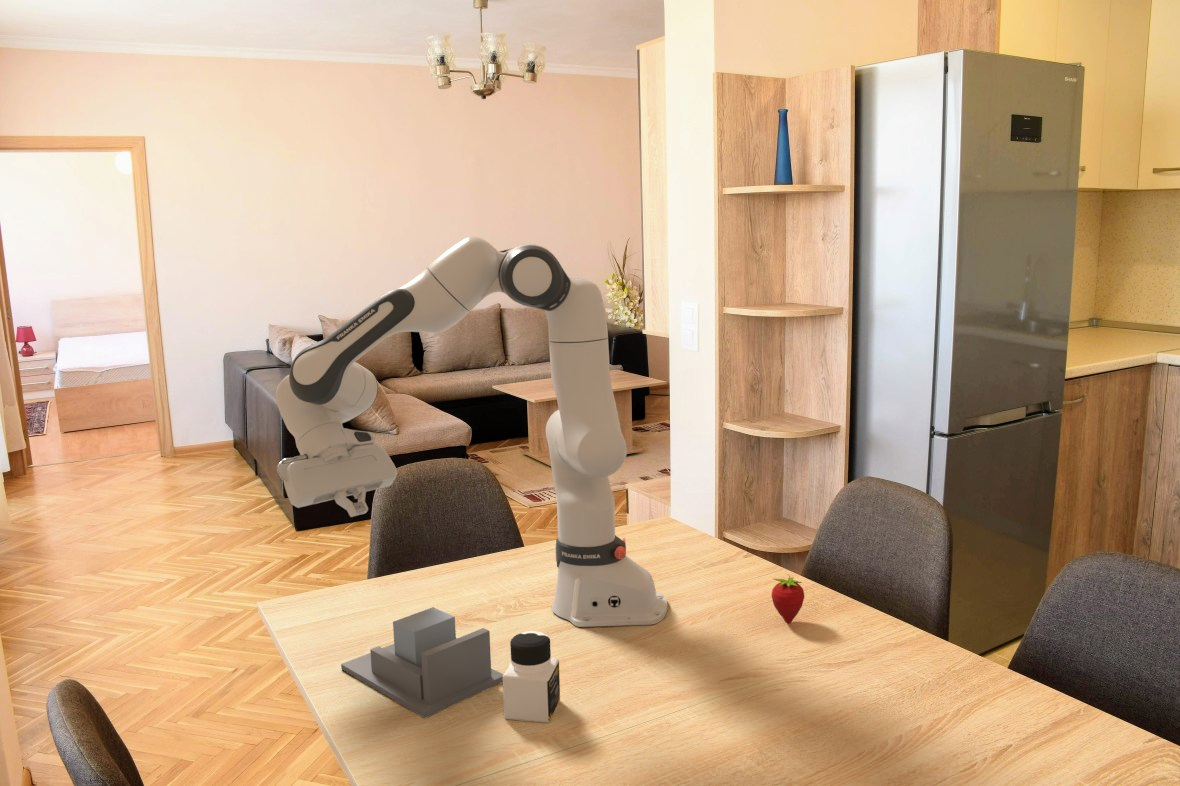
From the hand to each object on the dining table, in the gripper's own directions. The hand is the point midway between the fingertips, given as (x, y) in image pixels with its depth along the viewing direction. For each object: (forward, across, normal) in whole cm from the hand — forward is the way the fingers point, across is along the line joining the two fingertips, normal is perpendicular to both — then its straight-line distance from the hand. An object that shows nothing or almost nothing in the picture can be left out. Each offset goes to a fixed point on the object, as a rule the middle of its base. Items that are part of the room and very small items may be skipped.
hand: (359, 513), depth 160 cm
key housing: (+29, 0, +6) cm, 30 cm away
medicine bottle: (+45, +5, -10) cm, 46 cm away
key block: (+29, 0, +4) cm, 29 cm away
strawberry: (+53, +58, -18) cm, 81 cm away
